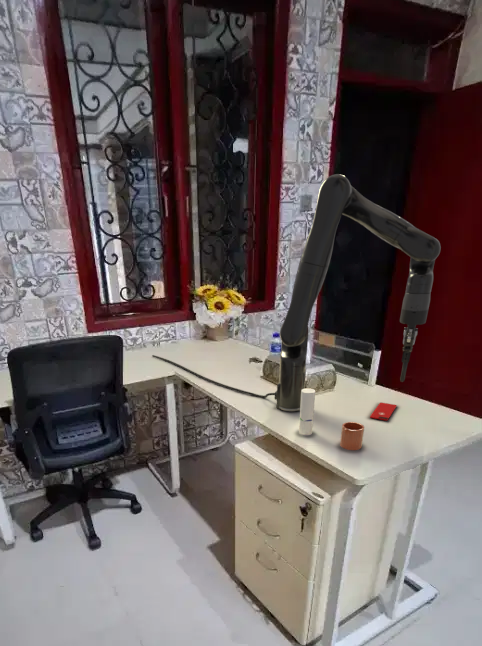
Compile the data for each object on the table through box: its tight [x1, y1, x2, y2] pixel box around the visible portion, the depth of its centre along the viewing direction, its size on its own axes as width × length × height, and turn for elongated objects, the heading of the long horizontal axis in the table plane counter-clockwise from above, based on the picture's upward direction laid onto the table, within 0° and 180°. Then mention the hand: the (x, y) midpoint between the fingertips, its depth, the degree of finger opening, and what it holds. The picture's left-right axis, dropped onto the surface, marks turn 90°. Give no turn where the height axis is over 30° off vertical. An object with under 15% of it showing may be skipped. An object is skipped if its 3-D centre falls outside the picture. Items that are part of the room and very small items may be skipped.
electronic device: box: [369, 402, 398, 422], centre depth 148 cm, size 6×1×15 cm
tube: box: [298, 387, 316, 436], centre depth 133 cm, size 4×4×15 cm
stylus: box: [399, 362, 409, 383], centre depth 137 cm, size 1×1×12 cm
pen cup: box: [339, 421, 365, 451], centre depth 125 cm, size 6×6×7 cm
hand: (405, 361), depth 137 cm, fingers closed on stylus, 1 cm apart
